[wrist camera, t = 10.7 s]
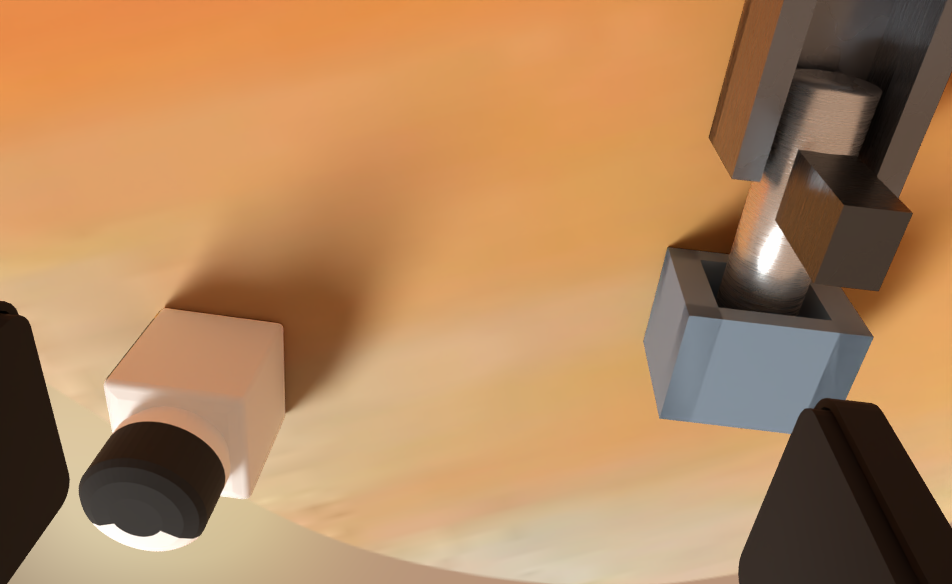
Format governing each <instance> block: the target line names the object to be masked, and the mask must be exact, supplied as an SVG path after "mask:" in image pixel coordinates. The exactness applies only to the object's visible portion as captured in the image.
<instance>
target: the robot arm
mask: <svg viewBox="0 0 952 584" xmlns="http://www.w3.org/2000/svg"><path fill="white" fill-rule="evenodd" d="M69 480H70V479H69V473H68V469H67V465H66V461H65V457H64V453H63V449H62V445H61V442H60V438H59V434H58V430H57V426H56V422H55V418H54V414H53V411H52V407H51V403H50V399H49V395H48V391H47V387H46V383H45V380H44V376H43V372H42V368H41V364H40V360H39V356H38V352H37V348H36V345H35V341H34V337H33V333H32V329H31V326H30V323H29V321H28V320H27V319H26V318H25V317H23V316H20V315H19V314H18V312H17V310H16V308H15V307H14V306H13V305H12V304H10V303H7V302H5V301H0V584H7V583H8V582H9V580H10V579H11V577H12V576H13V575H14V573H15V572H16V570H17V569H18V567H19V566H20V565H21V563H22V562H23V561H24V559H25V557H26V556H27V555H28V553H29V552H30V551H31V549H32V548H33V546H34V545H35V543H36V542H37V541H38V539H39V538H40V536H41V535H42V534H43V532H44V531H45V529H46V528H47V526H48V525H49V524H50V522H51V521H52V519H53V518H54V516H55V515H56V514H57V512H58V511H59V509H60V508H61V506H62V505H63V503H64V501H65V499H66V496H67V493H68V489H69ZM738 575H739V584H952V528H951V526H950V524H949V523H948V521H947V519H946V518H945V516H944V514H943V513H942V511H941V509H940V508H939V506H938V504H937V503H936V501H935V499H934V498H933V496H932V494H931V493H930V491H929V489H928V487H927V486H926V484H925V482H924V481H923V479H922V477H921V476H920V474H919V472H918V471H917V469H916V467H915V466H914V464H913V462H912V461H911V459H910V457H909V456H908V454H907V452H906V451H905V449H904V447H903V446H902V444H901V442H900V440H899V439H898V437H897V435H896V434H895V432H894V430H893V429H892V427H891V425H890V424H889V422H888V420H887V419H886V417H885V415H884V414H883V412H882V411H881V409H880V408H879V407H878V406H877V405H875V404H872V403H866V402H857V401H849V400H840V399H832V398H824V399H821V400H820V401H819V402H818V403H817V404H816V406H815V408H814V409H813V408H806V409H804V410H803V411H802V412H801V413H800V415H799V417H798V419H797V421H796V424H795V426H794V428H793V431H792V433H791V436H790V438H789V441H788V443H787V445H786V448H785V450H784V453H783V455H782V457H781V460H780V462H779V465H778V467H777V470H776V472H775V474H774V477H773V479H772V482H771V484H770V486H769V489H768V491H767V494H766V496H765V499H764V501H763V503H762V506H761V508H760V511H759V513H758V515H757V518H756V520H755V523H754V525H753V527H752V530H751V532H750V535H749V537H748V540H747V542H746V544H745V547H744V549H743V552H742V554H741V557H740V561H739V573H738Z"/></svg>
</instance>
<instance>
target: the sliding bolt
mask: <svg viewBox="0 0 952 584" xmlns="http://www.w3.org/2000/svg"><path fill="white" fill-rule="evenodd" d="M881 94H882V90H881V89H880V88H879V87H878V86H876V85H874V84H872V83H870V82H867V81H865V80H862V79H859V78H856V77H852V76H849V75H845V74H840V73H835V72H830V71H823V70H815V69H796V70H795V73H794V76H793V79H792V82H791V86H790V89H789V92H788V95H787V98H786V102H785V105H784V108H783V111H782V114H781V118H780V121H779V124H778V127H777V130H776V133H775V137H774V140H773V143H772V146H771V149H770V153H769V156H768V159H767V162H766V165H765V169H764V172H763V175H762V178H761V181H760V182H756V181H752V183H751V186H750V190H749V193H748V196H747V199H746V203H745V206H744V209H743V212H742V216H741V219H740V222H739V225H738V229H737V232H736V235H735V239H734V242H733V245H732V248H731V252H730V255H729V258H728V261H727V265H726V268H725V271H724V274H723V278H722V281H721V284H720V287H719V291H718V294H717V297H716V303H717V305H718V307H719V308H728V309H736V310H745V311H753V312H762V313H771V314H779V315H788V316H796V317H797V316H798V313H799V311H800V308H801V305H802V303H803V300H804V297H805V295H806V292H807V290H808V287H809V284H810V282H811V280H812V282H813V283H814V284H820V285H829V286H837V287H846V288H855V289H863V290H872V291H879V289H880V287H881V285H882V283H883V280H884V278H885V276H886V273H887V271H888V269H889V267H890V264H891V262H892V260H893V257H894V255H895V253H896V251H897V248H898V246H899V244H900V241H901V239H902V237H903V235H904V232H905V230H906V228H907V225H908V223H909V221H910V219H911V216H912V214H913V213H912V212H911V211H910V210H909V209H908V208H907V207H906V206H905V205H904V204H903V203H902V202H901V201H900V200H899V199H898V198H897V196H896V195H895V194H894V193H893V192H892V191H891V190H890V189H889V188H888V187H887V186H886V185H885V184H884V183H883V182H882V181H881V180H880V179H879V178H878V177H877V176H876V175H875V174H874V173H873V172H872V171H871V170H870V169H869V168H868V167H867V166H866V165H865V164H864V163H863V162H862V161H861V160H860V159H859V158H858V155H859V152H860V150H861V147H862V144H863V142H864V139H865V136H866V134H867V131H868V129H869V126H870V123H871V121H872V118H873V115H874V113H875V110H876V107H877V105H878V102H879V100H880V97H881Z"/></svg>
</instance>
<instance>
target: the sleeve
mask: <svg viewBox="0 0 952 584" xmlns="http://www.w3.org/2000/svg"><path fill="white" fill-rule="evenodd" d="M796 69H815V70H823V71H830V72H835V73H840V74H845V75H849V76H852V77H856V78H859V79H862V80H865V81H867V82H870V83H872V84H874V85H876V86H878V87H879V88H880V89H881V90H882V94H881V97H880V100H879V102H878V105H877V107H876V110H875V113H874V115H873V118H872V121H871V123H870V126H869V129H868V131H867V134H866V136H865V139H864V142H863V144H862V147H861V150H860V152H859V155H858V158H859V159H860V160H861V161H862V162H863V163H864V164H865V165H866V166H867V167H868V168H869V169H870V170H871V171H872V172H873V173H874V174H875V175H876V176H877V177H878V178H879V179H880V180H881V181H882V182H883V183H884V184H885V185H886V186H887V187H888V188H889V189H890V190H891V191H892V192H893V193H894V194H895V195H896V196H897V198H899V195H900V193H901V191H902V188H903V186H904V184H905V181H906V179H907V176H908V174H909V172H910V169H911V167H912V165H913V162H914V160H915V157H916V155H917V153H918V150H919V148H920V146H921V143H922V141H923V138H924V136H925V134H926V131H927V129H928V127H929V124H930V122H931V119H932V117H933V115H934V112H935V110H936V108H937V105H938V103H939V100H940V98H941V96H942V93H943V91H944V89H945V86H946V84H947V81H948V79H949V77H950V74H951V72H952V0H745V3H744V7H743V11H742V15H741V18H740V22H739V26H738V30H737V33H736V37H735V41H734V45H733V48H732V52H731V56H730V60H729V63H728V67H727V71H726V75H725V78H724V82H723V86H722V90H721V94H720V97H719V101H718V105H717V109H716V112H715V116H714V120H713V124H712V127H711V131H710V135H709V139H710V141H711V143H712V144H713V146H714V148H715V150H716V152H717V153H718V155H719V157H720V159H721V160H722V162H723V164H724V166H725V168H726V169H727V171H728V173H729V175H730V177H731V178H732V179H738V180H747V181H756V182H760V181H761V178H762V175H763V172H764V169H765V165H766V162H767V159H768V156H769V153H770V149H771V146H772V143H773V140H774V137H775V133H776V130H777V127H778V124H779V121H780V118H781V114H782V111H783V108H784V105H785V102H786V98H787V95H788V92H789V89H790V86H791V82H792V79H793V76H794V73H795V70H796Z"/></svg>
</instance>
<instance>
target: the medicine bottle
mask: <svg viewBox="0 0 952 584" xmlns="http://www.w3.org/2000/svg"><path fill="white" fill-rule="evenodd" d="M104 390H105V395H106V401H107V406H108V412H109V417H110V423H111V428H112V435H111V436H110V438H109V439H108V441H107V442H106V444H105V445H104V447H103V448H102V449H101V451H100V452H99V453H98V455H97V456H96V458H95V459H94V461H93V462H92V463H91V465H90V466H89V468H88V469H87V471H86V472H85V473H84V475H83V476H82V478H81V481H80V484H79V497H80V501H81V504H82V507H83V510H84V512H85V514H86V515H87V517H88V518H89V520H90V521H91V522H92V523H93V524H94V525H95V526H96V527H97V528H98V529H99V530H100V531H102V532H103V533H104V534H105V535H107V536H108V537H110V538H112V539H114V540H115V541H117V542H120V543H122V544H124V545H127V546H130V547H133V548H137V549H141V550H148V551H168V550H173V549H177V548H180V547H182V546H185V545H187V544H190V543H191V542H193V541H194V540H196V539H197V538H198V537H199V536H200V535H201V534H202V532H203V531H204V529H205V527H206V524H207V522H208V520H209V518H210V516H211V514H212V512H213V510H214V507H215V506H216V503H217V501H218V499H219V497H220V496H225V497H232V498H240V499H247V498H249V497H250V496H251V494H252V492H253V490H254V487H255V485H256V483H257V480H258V478H259V476H260V473H261V471H262V469H263V467H264V464H265V462H266V460H267V457H268V455H269V453H270V450H271V448H272V446H273V443H274V441H275V439H276V436H277V434H278V432H279V429H280V427H281V425H282V422H283V420H284V418H285V380H284V336H283V326H282V325H281V324H279V323H274V322H266V321H259V320H252V319H244V318H237V317H229V316H222V315H214V314H207V313H199V312H192V311H184V310H177V309H169V308H163V309H162V310H160V311H159V313H158V314H157V315H156V316H155V318H154V319H153V320H152V321H151V323H150V324H149V325H148V326H147V328H146V329H145V330H144V332H143V333H142V334H141V335H140V337H139V338H138V339H137V340H136V342H135V343H134V344H133V346H132V347H131V348H130V349H129V351H128V352H127V353H126V354H125V356H124V357H123V358H122V360H121V361H120V362H119V363H118V365H117V366H116V367H115V368H114V370H113V371H112V372H111V374H110V375H109V376H108V377H107V379H106V380H105V382H104Z"/></svg>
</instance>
